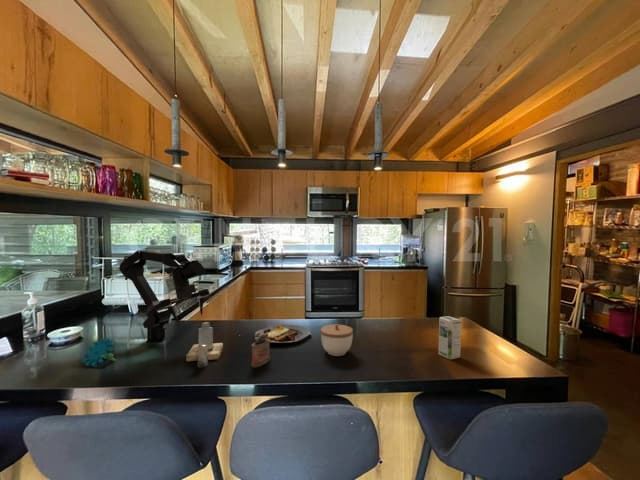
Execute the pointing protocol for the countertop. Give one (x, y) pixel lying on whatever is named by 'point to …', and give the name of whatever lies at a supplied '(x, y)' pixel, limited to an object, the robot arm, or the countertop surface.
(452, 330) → the syrup box
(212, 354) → the socket block
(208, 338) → the square bit
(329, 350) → the lidded bowl
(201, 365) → the round peg
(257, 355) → the lighter
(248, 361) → the countertop surface
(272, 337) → the food plate
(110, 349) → the teal lumpy clump
